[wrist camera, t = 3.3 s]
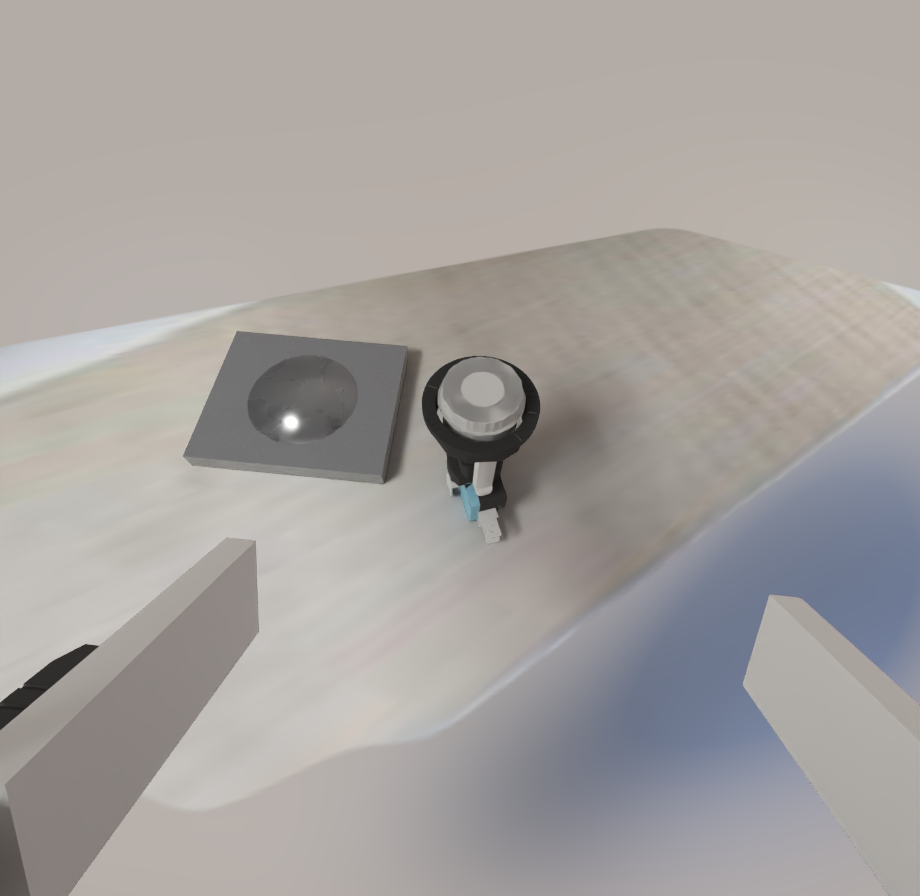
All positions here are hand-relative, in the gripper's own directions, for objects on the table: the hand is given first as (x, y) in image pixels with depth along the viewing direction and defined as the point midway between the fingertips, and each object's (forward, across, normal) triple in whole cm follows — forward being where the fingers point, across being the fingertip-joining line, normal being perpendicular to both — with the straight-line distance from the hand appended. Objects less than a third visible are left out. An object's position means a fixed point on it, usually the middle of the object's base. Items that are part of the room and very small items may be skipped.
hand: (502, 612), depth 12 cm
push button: (+16, -1, -3) cm, 17 cm away
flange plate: (+20, -12, 0) cm, 24 cm away
